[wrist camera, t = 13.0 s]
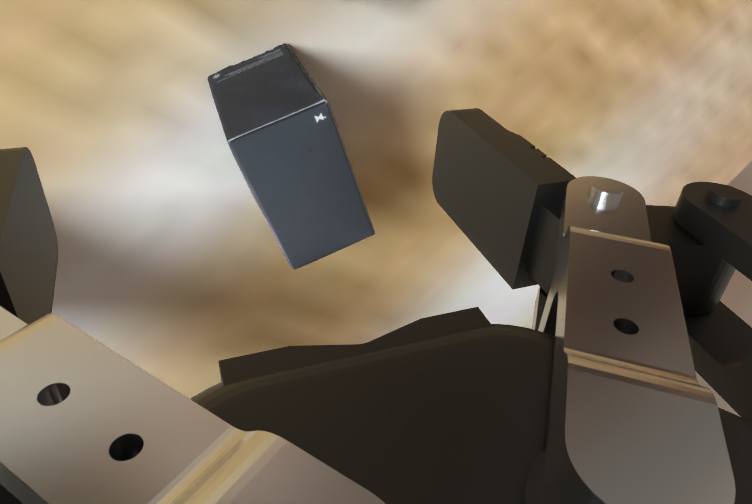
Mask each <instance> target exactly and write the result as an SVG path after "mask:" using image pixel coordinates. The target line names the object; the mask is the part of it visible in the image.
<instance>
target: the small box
mask: <svg viewBox="0 0 752 504" xmlns="http://www.w3.org/2000/svg"><path fill="white" fill-rule="evenodd" d="M208 82H209V85H210V88H211V92H212V95H213V98H214V102H215V105H216V108H217V111H218V114H219V117H220V120H221V123H222V126H223V129H224V133H225V136H226V139H227V141H228V144H229V147H230V149H231V151H232V153H233V155H234V158H235V160H236V162H237V164H238V166H239V168H240V170H241V172H242V174H243V176H244V178H245V180H246V182H247V185H248V187H249V189H250V191H251V193H252V195H253V197H254V199H255V201H256V202H257V204H258V206H259V208H260V210H261V212H262V214H263V216H264V217H265V219H266V221H267V223H268V225H269V227H270V229H271V231H272V232H273V234H274V236H275V238H276V240H277V242H278V244H279V246H280V248H281V249H282V251H283V253H284V255H285V257H286V258H287V260H288V262H289V264H290V266H291V267H292V269H297V268H300V267H302V266H305V265H307V264H309V263H312V262H314V261H316V260H319V259H320V258H323V257H325V256H327V255H330V254H332V253H334V252H336V251H338V250H341V249H343V248H345V247H347V246H350V245H352V244H354V243H356V242H358V241H361V240H363V239H365V238H367V237H369V236H372V235H374V234H375V231H374V229H373V226H372V223H371V220H370V217H369V214H368V211H367V209H366V206H365V203H364V201H363V197H362V195H361V192H360V189H359V186H358V183H357V180H356V177H355V175H354V172H353V169H352V166H351V164H350V161H349V158H348V156H347V153H346V150H345V147H344V144H343V141H342V138H341V135H340V133H339V130H338V127H337V125H336V122H335V119H334V117H333V113H332V111H331V108H330V105H329V102H328V101H327V99H326V98H325V96H324V95H323V93H322V92H321V91H320V90H319V88H318V86H317V85H316V84H315V83H314V81H313V80H312V78H311V77H310V75H309V74H308V73H307V72H306V71H305V69H304V67H303V66H302V65H301V63H300V62H299V60H298V59H297V57H296V56H295V54H294V52H293V51H292V49H291V48H290V46H289V45H287V44H283V45H279V46H277V47H275V48H274V49H273V50H270V51H266V52H265V53H263V54H261V55H258V56H256V57H253V58H251V59H249V60H246V61H242V62H241V63H239V64H236V65H234V66H233V65H232V66H229V67H227V68H225V69H222V70H221V71H219V72H217V73H215V74H213V75H210V76H209V77H208Z"/></svg>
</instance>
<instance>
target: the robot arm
mask: <svg viewBox="0 0 752 504" xmlns="http://www.w3.org/2000/svg"><path fill="white" fill-rule="evenodd" d="M432 184H433V191H434V195H435V198H436V200H437V202H438V204H439V205H440V206H441V207H442V208H443V209H444V211H445V212H446V213H447V214H448V215H449V216H450V218H451V219H452V220H453V221H454V222H455V223H456V224H457V226H458V227H459V228H460V229H461V230H462V231H463V233H464V234H465V235H466V236H467V237H468V238H469V239H470V241H471V242H472V243H473V244H474V245H475V246H476V248H477V249H478V250H479V251H480V252H481V253H482V254H483V256H484V257H485V258H486V259H487V260H488V261H489V263H490V264H491V265H492V266H493V267H494V268H495V269H496V271H497V272H498V273H499V274H500V275H501V276H502V278H503V279H504V280H505V281H506V282H507V283H508V284H509V286H510V287H511V288H512V289H517V288H522V287H527V286H532V285H537V284H538V285H539V286H540V287H539V290H538V294H537V298H536V301H535V309H534V316H533V324H532V329H529V328H525V327H519V326H512V325H502V324H490V322H489V321H488V320H487V318H486V317H485V316H484V314H483V313H482V312H481V310H480V309H479V308H478V307H475V308H470V309H465V310H460V311H456V312H451V313H446V314H441V315H436V316H432V317H427V318H422V319H419V320H417V321H415V322H413V323H410V324H408V325H406V326H404V327H401V328H399V329H397V330H395V331H392V332H390V333H388V334H386V335H384V336H381V337H379V338H377V339H375V340H372V341H370V342H368V343H364V344H357V345H316V346H288V347H283V348H278V349H273V350H269V351H264V352H259V353H254V354H249V355H245V356H240V357H235V358H230V359H225V360H221V361H219V367H220V374H221V383H219V384H217V385H214V386H212V387H210V388H208V389H207V390H205V391H203V392H201V393H199V394H198V395H196V396H194V397H193V398H191V399H189V398H187V397H186V396H184V395H183V394H181V393H179V392H178V391H176V390H175V389H173V388H172V387H170V386H168V385H167V384H165V383H164V382H162V381H160V380H159V379H157V378H156V377H154V376H153V375H151V374H149V373H148V372H146V371H145V370H143V369H142V368H140V367H138V366H137V365H135V364H134V363H132V362H131V361H129V360H127V359H126V358H124V357H123V356H121V355H119V354H118V353H116V352H115V351H113V350H112V349H110V348H108V347H107V346H105V345H104V344H102V343H101V342H99V341H97V340H96V339H94V338H93V337H91V336H90V335H88V334H86V333H85V332H83V331H82V330H80V329H78V328H77V327H75V326H74V325H72V324H71V323H69V322H67V321H66V320H64V319H63V318H61V317H59V316H57V315H54V314H51V312H52V304H53V295H54V287H55V278H56V270H57V261H58V245H57V238H56V233H55V228H54V224H53V221H52V217H51V214H50V211H49V208H48V204H47V201H46V198H45V195H44V191H43V188H42V185H41V181H40V178H39V175H38V172H37V168H36V165H35V162H34V159H33V156H32V154H31V152H30V150H29V149H28V148H27V147H22V148H11V149H0V504H752V328H751V327H750V326H749V325H748V324H747V323H745V322H744V321H743V320H742V319H741V318H739V317H738V316H737V315H736V314H735V313H734V312H732V311H731V310H730V309H729V308H728V307H726V306H725V305H724V304H723V303H722V302H721V301H720V299H721V297H722V295H723V293H724V291H725V289H726V287H727V285H728V283H729V281H730V279H731V277H732V275H733V273H734V271H735V269H737V270H738V271H739V272H741V273H742V274H743V275H745V276H746V277H747V278H749V279H750V280H751V281H752V196H751V195H749V194H747V193H745V192H743V191H741V190H738V189H736V188H734V187H731V186H728V185H723V184H718V183H711V182H694V183H690V184H687V185H686V186H684V188H683V190H682V192H681V195H680V197H679V199H678V202H677V204H676V207H673V206H652V205H646V204H645V200H644V197H643V196H642V195H641V194H640V193H639V192H638V191H637V190H635V189H634V188H632V187H631V186H629V185H627V184H624V183H622V182H619V181H616V180H613V179H608V178H603V177H594V176H586V177H579V178H576V177H574V176H573V175H572V174H570V173H569V172H568V171H567V170H565V169H564V168H563V167H561V166H560V165H559V164H557V163H556V162H555V161H553V160H552V159H551V158H547V157H546V155H545V154H544V153H543V152H541V151H540V150H539V149H535V146H534V145H532V144H531V143H530V142H528V141H527V140H526V139H524V138H523V137H522V136H520V135H517V134H515V133H513V132H510V131H508V130H506V129H505V128H504V127H503V126H501V125H500V124H499V123H497V122H496V121H495V120H493V119H492V118H491V117H490V116H488V115H487V114H486V113H484V112H483V111H482V110H480V109H478V108H475V109H463V110H452V111H446V112H444V113H443V114H442V116H441V119H440V122H439V128H438V136H437V144H436V152H435V160H434V168H433V177H432ZM695 371H697V373H698V374H699V375H700V376H701V377H702V378H703V379H704V380H705V381H706V382H707V383H708V384H709V385H710V386H711V387H712V388H713V389H714V390H715V391H716V392H717V393H718V394H719V395H720V396H721V397H722V398H723V399H724V400H725V401H726V402H727V403H728V404H729V405H730V406H731V407H732V408H733V409H734V410H735V411H736V412H737V413H738V414H739V415H740V416H741V417H739V416H737V415H735V414H732V413H730V412H728V411H725V410H723V409H721V408H719V407H718V405H717V402H716V399H715V396H714V394H713V393H712V391H711V390H710V389H709V388H707V387H703V386H701V385H700V384H699V383H698V381H697V378H696V373H695Z"/></svg>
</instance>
